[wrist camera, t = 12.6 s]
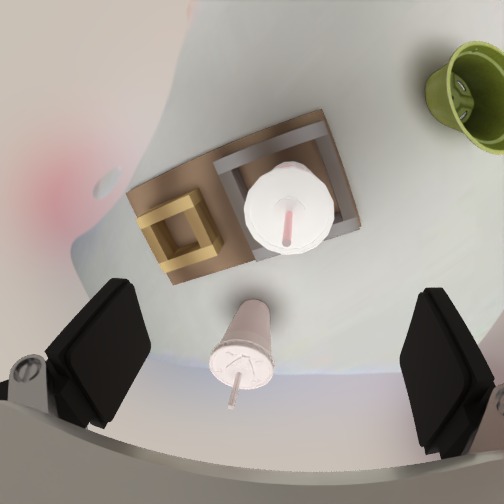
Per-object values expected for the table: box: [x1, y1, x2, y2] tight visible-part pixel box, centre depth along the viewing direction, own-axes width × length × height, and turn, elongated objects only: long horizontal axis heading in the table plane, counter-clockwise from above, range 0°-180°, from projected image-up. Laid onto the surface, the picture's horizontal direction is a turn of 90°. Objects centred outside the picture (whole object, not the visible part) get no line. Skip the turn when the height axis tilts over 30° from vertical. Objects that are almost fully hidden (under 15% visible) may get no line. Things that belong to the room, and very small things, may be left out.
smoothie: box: [209, 299, 275, 409], centre depth 30 cm, size 6×6×14 cm
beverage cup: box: [244, 161, 334, 255], centre depth 22 cm, size 6×6×14 cm
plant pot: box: [425, 41, 504, 155], centre depth 19 cm, size 9×9×9 cm
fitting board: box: [126, 109, 361, 285], centre depth 29 cm, size 22×12×4 cm, turn 113°
